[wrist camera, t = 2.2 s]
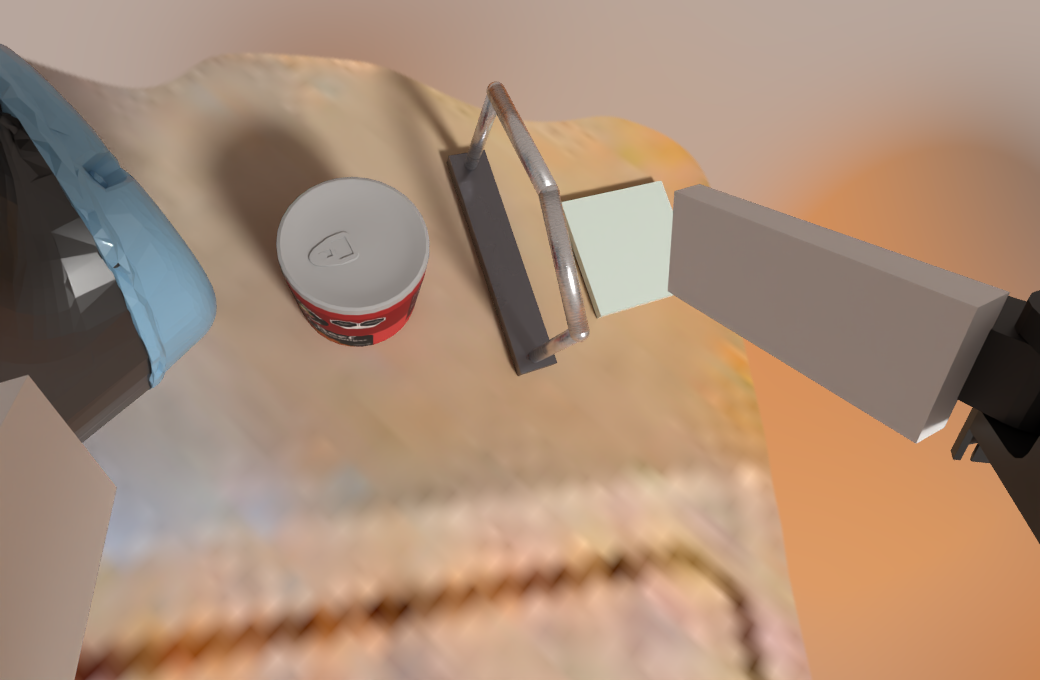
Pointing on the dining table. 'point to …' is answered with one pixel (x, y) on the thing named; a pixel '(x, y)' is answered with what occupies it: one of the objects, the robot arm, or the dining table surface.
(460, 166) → the metal handle
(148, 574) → the dining table surface
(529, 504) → the dining table surface
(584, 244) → the sage mat
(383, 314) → the canned food
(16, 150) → the robot arm
